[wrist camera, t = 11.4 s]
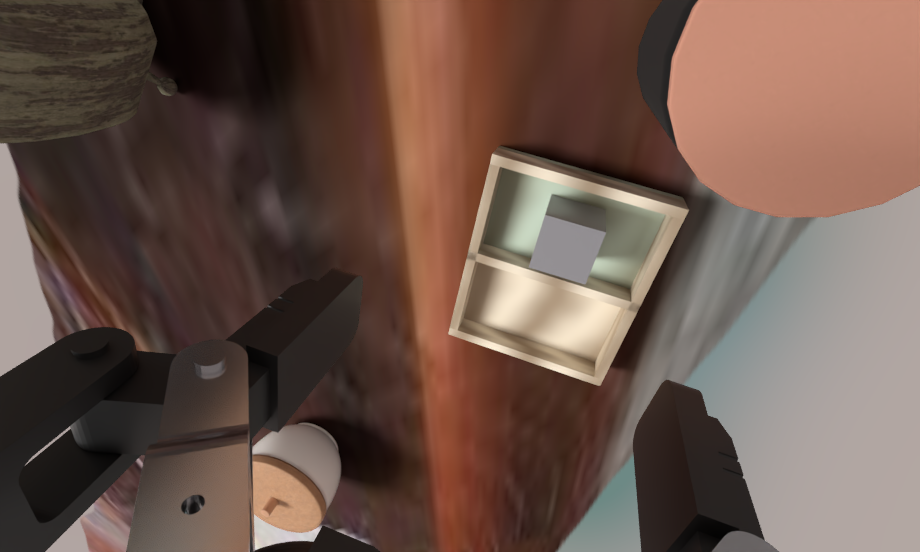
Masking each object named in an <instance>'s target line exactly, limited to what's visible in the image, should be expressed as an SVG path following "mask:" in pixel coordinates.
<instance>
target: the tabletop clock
mask: <svg viewBox="0 0 920 552" xmlns="http://www.w3.org/2000/svg"><path fill="white" fill-rule="evenodd" d="M142 3H143V0H0V143H20V142H34V141H42V140H49V139H57V138H64V137H72V136H79V135H83V134H87V133H90V132H94V131H98V130H102V129H105V128H109V127H113V126H116V125H118V124H121V123H123V122H125V121H127V120H129V119H130V118H131V117H133V116H134V115H135V114H136V113H137V109H138V106H139V102H140V99H141V95H142V92H143V89H144V85H145V82H146V80H149V81H151V82H153V83H156V84H157V88H158V89H159V91H160V92H161V93H162V94H164V95H167V96H171V95H175V93H176V92H177V85H176V83H175V82H174V80H172V79H170V78H168V77H164V78H160V79H159V78H158V77H156V76H155V75H153V74H152V73H150V72H149V68H150V65H151V61H152V58H153V55H154V51H155V48H156V44H157V39H156V36H155V34H154V31H153V28H152V25H151V23H150V20H149V17H148V14H147V13H146V11H145V9H144V8H143V6H142Z"/></svg>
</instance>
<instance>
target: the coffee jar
mask: <svg viewBox="0 0 920 552" xmlns="http://www.w3.org/2000/svg"><path fill="white" fill-rule="evenodd" d="M637 76H638V80H639V84H640V88H641V92H642V96H643V98H644V100H645V101H646V103H647V104H648V106H649V107H650V109H651V110H652V112H653V113H654V115H655V116H656V118H657V119H658V121H659V122H660V124H661V125H662V127H663V128H664V130H665V131H666V133H667V134H668V136H669V137H670V139H671V140H672V142H673V143H674V145H675V146H676V148H677V149H678V150H679V152H680V153H681V155H682V156H683V158H684V159H685V161H686V162H687V164H688V165H689V166H690V168H691V169H692V170H693V172H694V173H695V175H696V176H697V178H698V179H699V181H700V182H701V183H703V184H704V185H706V186H707V187H709V188H710V189H712V190H713V191H714V192H716V193H717V194H719V195H720V196H722V197H723V198H725V199H726V200H728V201H729V202H730V203H732V204H733V205H736V206H739V207H743V208H747V209H750V210H754V211H757V212H761V213H764V214H768V215H771V216H775V217H830V216H835V215H839V214H843V213H847V212H851V211H855V210H859V209H863V208H868V207H872V206H876V205H880V204H883V203H885V202H887V201H889V200H891V199H893V198H896V197H898V196H900V195H902V194H904V193H906V192H908V191H910V190H912V189H914V188H916V187H918V186H920V0H662V2H661V3H660V5H659V6H658V7H657V9H656V10H655V12H654V13H653V15H652V16H651V17H650V19H649V21H648V24H647V27H646V29H645V32H644V35H643V37H642V40H641V43H640V45H639V53H638V67H637Z"/></svg>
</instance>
